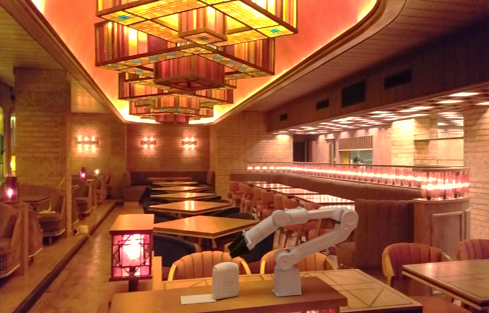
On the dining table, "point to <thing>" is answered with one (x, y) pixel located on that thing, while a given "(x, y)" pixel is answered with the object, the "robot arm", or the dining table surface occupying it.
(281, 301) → the dining table surface
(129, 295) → the dining table surface
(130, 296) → the dining table surface
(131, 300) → the dining table surface
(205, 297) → the mat
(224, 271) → the photo printer
